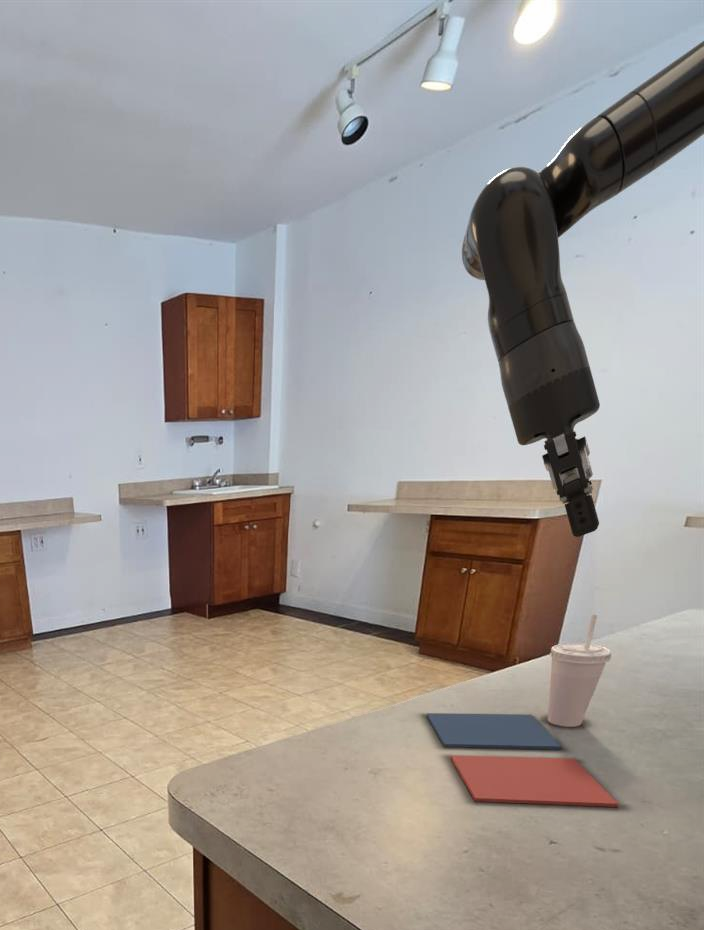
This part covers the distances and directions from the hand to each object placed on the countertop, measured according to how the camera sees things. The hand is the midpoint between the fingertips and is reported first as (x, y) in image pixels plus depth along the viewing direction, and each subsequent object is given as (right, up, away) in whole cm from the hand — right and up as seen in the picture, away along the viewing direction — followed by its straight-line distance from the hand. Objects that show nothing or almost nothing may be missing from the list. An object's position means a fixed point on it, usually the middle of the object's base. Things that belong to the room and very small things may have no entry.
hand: (587, 532), depth 70 cm
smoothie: (+7, -20, +14) cm, 25 cm away
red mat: (-7, -27, -1) cm, 28 cm away
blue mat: (-4, -21, +12) cm, 25 cm away
